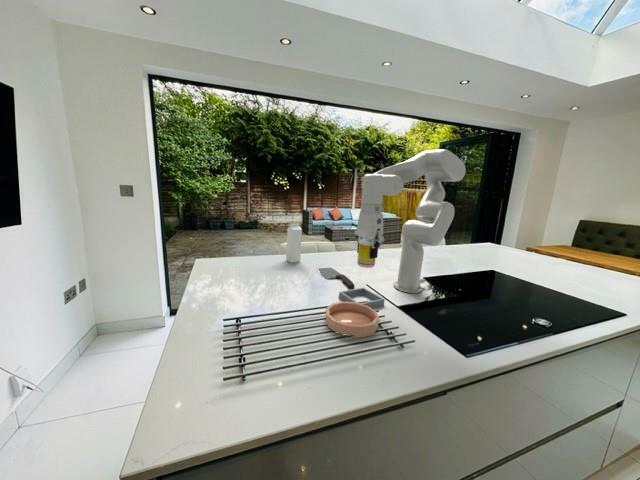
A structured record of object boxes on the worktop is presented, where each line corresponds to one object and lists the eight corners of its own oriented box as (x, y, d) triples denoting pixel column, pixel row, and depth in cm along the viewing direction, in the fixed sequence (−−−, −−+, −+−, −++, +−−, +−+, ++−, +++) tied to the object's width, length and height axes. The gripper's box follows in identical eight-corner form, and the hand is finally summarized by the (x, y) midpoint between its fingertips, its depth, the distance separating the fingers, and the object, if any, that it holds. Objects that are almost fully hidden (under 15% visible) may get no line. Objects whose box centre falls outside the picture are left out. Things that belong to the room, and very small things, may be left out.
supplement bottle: (374, 269, 100) (377, 235, 97) (356, 267, 101) (359, 233, 98) (374, 263, 106) (377, 232, 103) (357, 262, 107) (360, 230, 105)
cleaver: (359, 288, 120) (359, 284, 120) (339, 290, 116) (340, 286, 116) (330, 269, 147) (330, 265, 146) (313, 270, 143) (314, 266, 142)
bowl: (355, 307, 101) (356, 298, 100) (388, 329, 86) (389, 319, 86) (316, 316, 92) (316, 306, 91) (345, 342, 78) (346, 331, 77)
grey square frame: (363, 293, 115) (363, 287, 114) (383, 305, 104) (384, 299, 104) (338, 297, 108) (339, 291, 108) (358, 311, 98) (359, 304, 97)
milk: (285, 260, 155) (287, 222, 150) (294, 259, 159) (296, 222, 154) (291, 263, 150) (293, 224, 146) (300, 261, 154) (302, 223, 150)
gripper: (395, 211, 94) (390, 260, 97) (363, 206, 108) (360, 249, 112) (379, 211, 90) (374, 262, 94) (348, 206, 104) (345, 250, 108)
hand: (366, 255), depth 103 cm, fingers closed on supplement bottle, 6 cm apart
